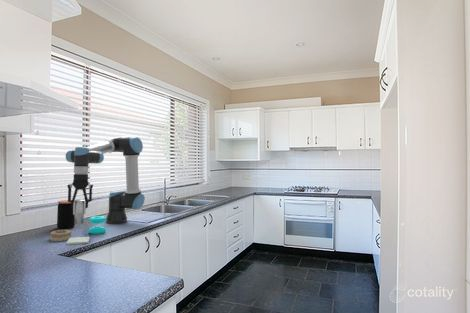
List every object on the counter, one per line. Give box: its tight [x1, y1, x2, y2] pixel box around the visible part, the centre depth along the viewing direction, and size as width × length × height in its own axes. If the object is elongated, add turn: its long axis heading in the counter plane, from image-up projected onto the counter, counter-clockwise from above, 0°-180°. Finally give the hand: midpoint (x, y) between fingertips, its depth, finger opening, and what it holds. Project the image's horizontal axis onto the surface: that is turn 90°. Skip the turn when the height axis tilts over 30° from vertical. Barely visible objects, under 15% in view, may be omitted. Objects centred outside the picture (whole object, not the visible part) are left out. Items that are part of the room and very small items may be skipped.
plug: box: [74, 199, 85, 225], centre depth 176 cm, size 5×5×13 cm
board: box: [65, 236, 91, 246], centre depth 176 cm, size 11×11×1 cm
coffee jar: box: [56, 199, 76, 230], centre depth 208 cm, size 11×11×18 cm
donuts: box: [88, 215, 107, 235], centre depth 197 cm, size 10×10×10 cm
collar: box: [49, 229, 72, 242], centre depth 180 cm, size 10×10×4 cm
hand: (79, 213), depth 176 cm, fingers closed on plug, 5 cm apart
